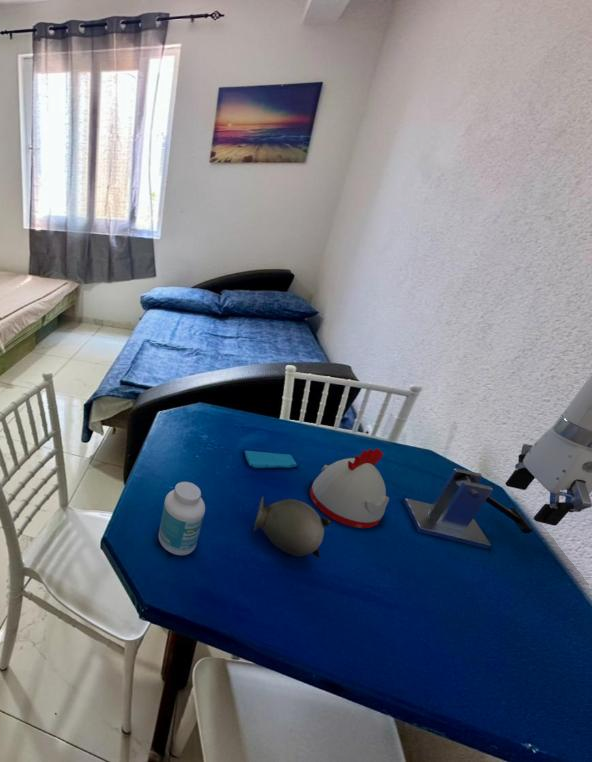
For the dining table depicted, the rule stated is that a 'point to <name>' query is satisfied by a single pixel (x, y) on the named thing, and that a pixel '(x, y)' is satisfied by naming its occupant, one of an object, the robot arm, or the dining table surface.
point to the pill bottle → (182, 519)
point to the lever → (502, 508)
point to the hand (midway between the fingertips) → (528, 503)
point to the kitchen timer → (352, 490)
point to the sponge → (269, 460)
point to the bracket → (453, 511)
